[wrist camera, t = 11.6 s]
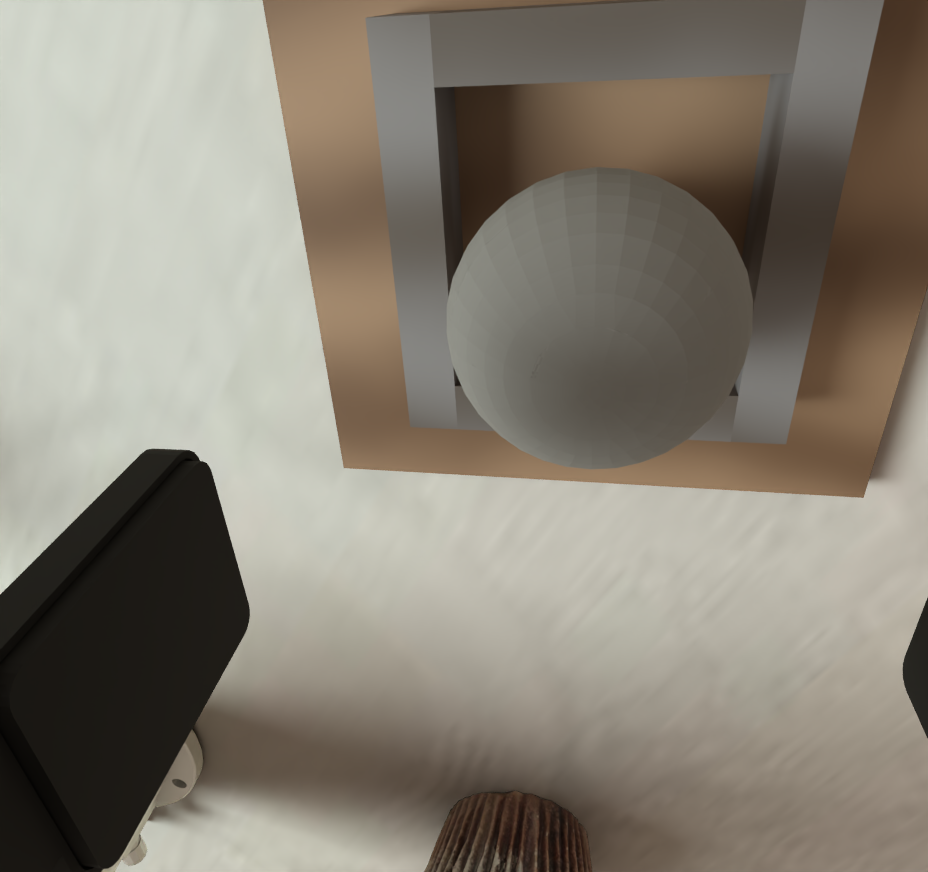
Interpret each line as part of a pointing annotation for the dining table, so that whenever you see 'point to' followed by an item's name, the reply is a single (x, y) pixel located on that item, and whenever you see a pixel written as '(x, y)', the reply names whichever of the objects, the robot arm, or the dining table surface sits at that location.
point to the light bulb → (599, 318)
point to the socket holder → (630, 147)
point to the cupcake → (510, 836)
